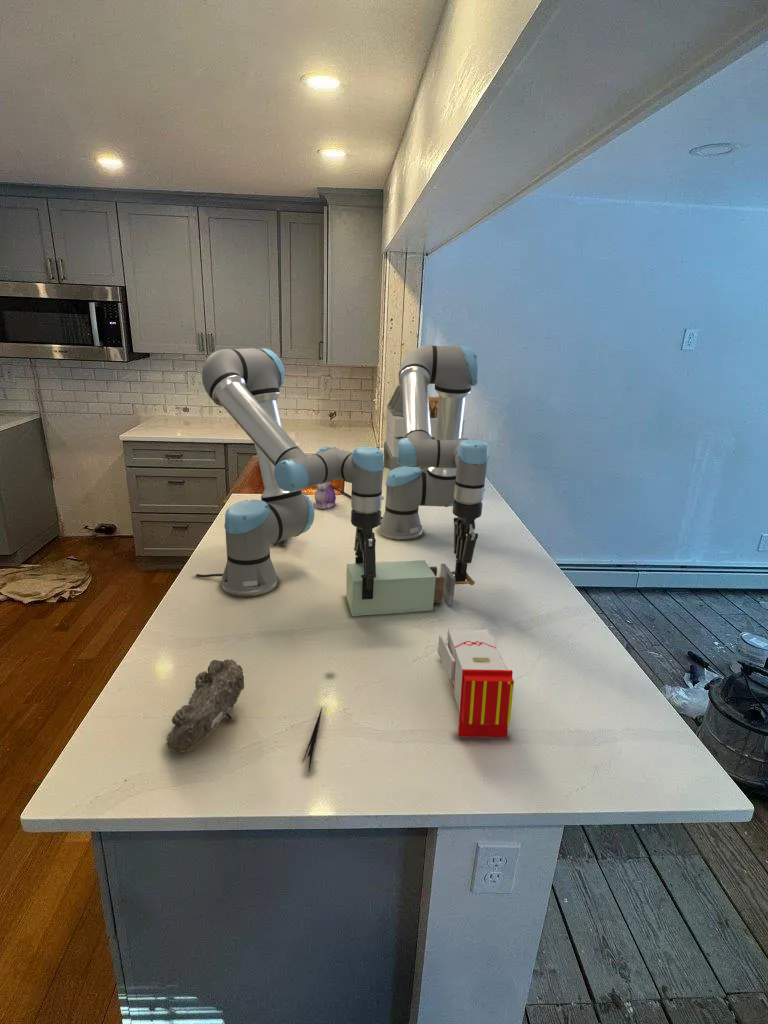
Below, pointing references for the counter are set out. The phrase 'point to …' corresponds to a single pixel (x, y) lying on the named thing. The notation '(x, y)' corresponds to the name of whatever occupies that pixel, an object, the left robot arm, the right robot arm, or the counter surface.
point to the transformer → (397, 426)
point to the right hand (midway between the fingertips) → (459, 582)
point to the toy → (478, 682)
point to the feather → (313, 740)
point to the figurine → (324, 496)
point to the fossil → (206, 705)
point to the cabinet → (392, 588)
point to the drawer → (447, 584)
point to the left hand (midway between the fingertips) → (363, 588)
